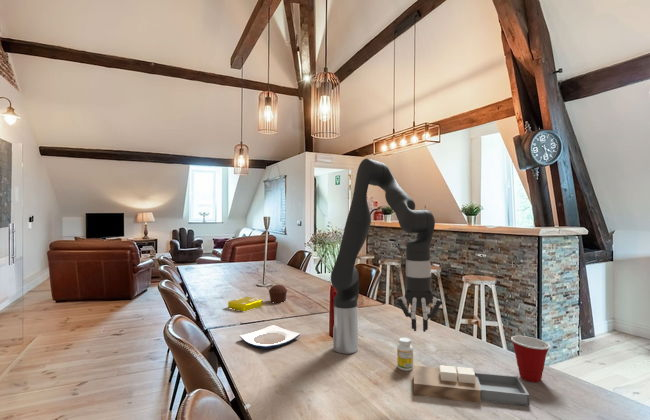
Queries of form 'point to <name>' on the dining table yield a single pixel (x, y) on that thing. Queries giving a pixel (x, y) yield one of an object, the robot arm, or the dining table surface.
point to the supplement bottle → (405, 354)
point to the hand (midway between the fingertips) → (419, 330)
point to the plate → (271, 329)
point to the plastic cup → (530, 357)
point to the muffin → (277, 293)
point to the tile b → (465, 375)
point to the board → (443, 386)
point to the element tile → (245, 303)
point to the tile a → (448, 373)
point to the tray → (502, 389)
